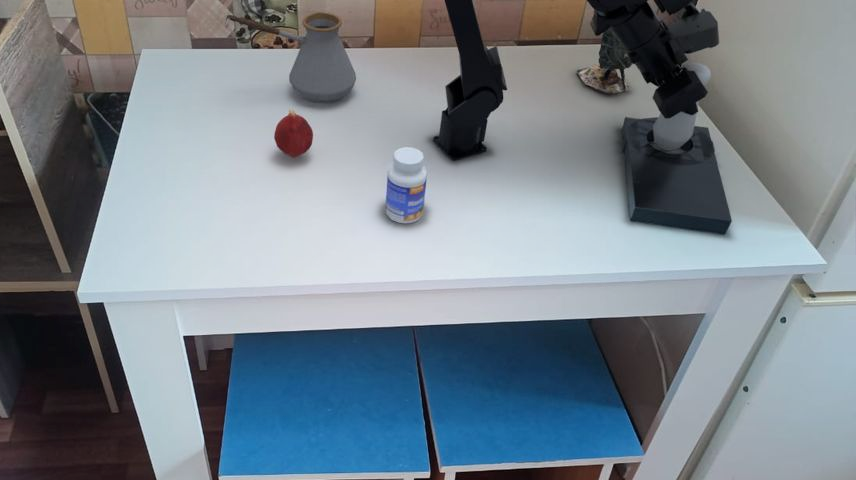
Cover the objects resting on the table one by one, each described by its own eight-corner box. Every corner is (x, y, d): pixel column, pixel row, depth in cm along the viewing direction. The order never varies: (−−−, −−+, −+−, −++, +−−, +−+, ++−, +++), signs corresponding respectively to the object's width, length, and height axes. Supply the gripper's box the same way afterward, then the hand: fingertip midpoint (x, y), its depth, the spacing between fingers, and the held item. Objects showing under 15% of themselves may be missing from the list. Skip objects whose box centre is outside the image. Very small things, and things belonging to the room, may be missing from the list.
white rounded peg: (688, 156, 112) (721, 79, 103) (650, 150, 113) (679, 74, 104) (684, 135, 116) (715, 60, 107) (647, 130, 117) (675, 55, 108)
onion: (319, 151, 114) (319, 106, 109) (302, 171, 111) (301, 125, 105) (287, 142, 116) (284, 97, 110) (269, 161, 112) (265, 115, 107)
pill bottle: (411, 229, 101) (417, 172, 95) (377, 215, 103) (381, 158, 97) (429, 209, 105) (436, 152, 98) (396, 195, 107) (401, 139, 100)
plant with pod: (592, 102, 127) (624, -12, 113) (572, 70, 135) (600, -41, 121) (637, 101, 127) (675, -13, 113) (614, 69, 135) (647, -41, 121)
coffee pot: (348, 73, 132) (349, -10, 122) (362, 106, 124) (365, 21, 114) (229, 83, 128) (220, -1, 118) (236, 118, 121) (226, 31, 110)
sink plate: (726, 234, 102) (733, 221, 101) (628, 220, 104) (634, 207, 102) (702, 136, 120) (708, 123, 118) (619, 125, 122) (623, 112, 120)
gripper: (718, 27, 92) (768, 108, 100) (676, -32, 105) (723, 44, 113) (637, 80, 97) (690, 153, 105) (606, 18, 111) (655, 87, 118)
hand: (691, 106), depth 110 cm, fingers closed on white rounded peg, 3 cm apart
